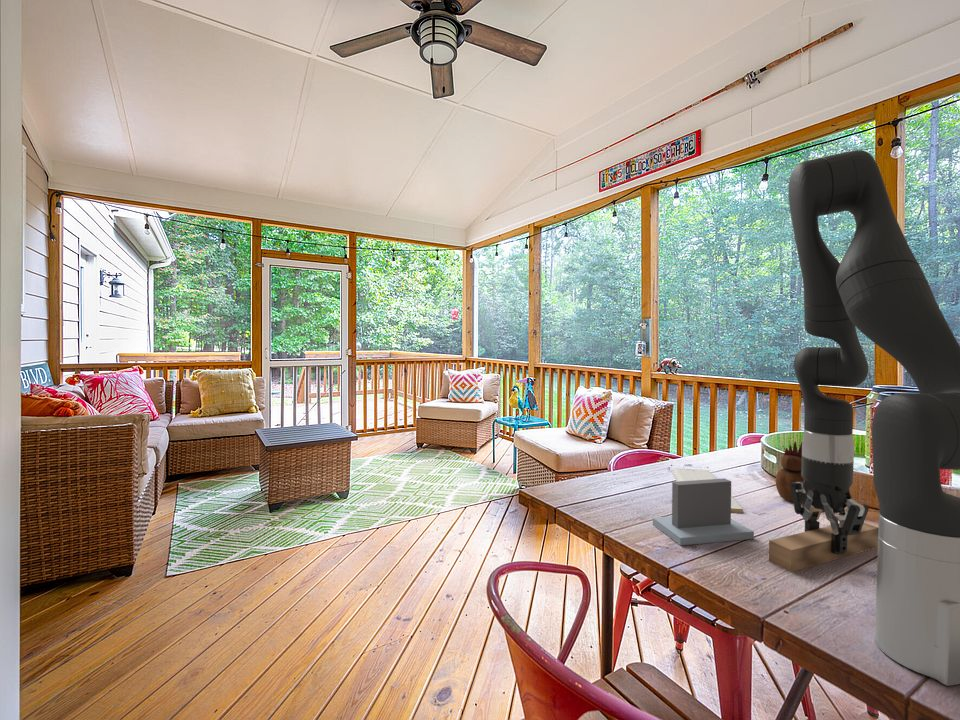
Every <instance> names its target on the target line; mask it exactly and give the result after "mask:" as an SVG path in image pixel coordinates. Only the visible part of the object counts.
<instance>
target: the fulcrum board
mask: <svg viewBox="0 0 960 720" xmlns="http://www.w3.org/2000/svg"><path fill="white" fill-rule="evenodd" d="M671 485H672V486H671V488H672V489H671V492H672V493H671V515H669V516H657V517H656V516H655V517H652V525H653V526H654V527H655V526H656V527H655V528H657V529H658V530H659V529H660V530H659V531H661V532H662V533H663V532H664V534H665V535H666V534H667V535H668V536H667V535H666V536H667V537H668V538H670V539H671V538H672V539H673V541H674V542H675V543H676V542H677V543H676V544H678V545H679V546H689V545H698V544H699V545H700V544H701V545H702V544H709V543H711V544H712V543H721V542H732V541H733V542H734V541H743V540H752V539H755V538H754V537H755V531H754V530H752V529H750V528H749V527H746V526H745V525H743V524H742V523H740V522H738V521H737V520H734V519H733V518H731V517H732V512H731V496H732V481H731V480H729V479H727V478H725V477H724V478H716V479H708V480H694V481H679V482H677V481H672V483H671ZM672 539H671V540H672Z"/></svg>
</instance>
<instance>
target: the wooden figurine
mask: <svg viewBox="0 0 960 720" xmlns="http://www.w3.org/2000/svg"><path fill="white" fill-rule="evenodd" d="M784 449H785V450H784V452H783V455H782V457H781V458H780V463H781V467H782V468H781V469H779V470H778V471H777V473H776V474H775V486H776V489H777V493H778V494H779V497H780V498H782V499H783V500H785V501H786V502H790V501H791V503H793V499H792V494H791V489H790V483H792V482H804V480H805V479H803V477H802V475H801V471H802V441H801V442H800V445H799V447H797V442H796V441H794V443H793V448H792V445H789V447H788V448H787V447H786V448H784ZM800 503H802V501H800Z"/></svg>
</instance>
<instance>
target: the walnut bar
mask: <svg viewBox="0 0 960 720" xmlns="http://www.w3.org/2000/svg"><path fill="white" fill-rule="evenodd" d="M838 524H839V527H841V526H840V522H838ZM878 528H879V526H875V525H872V524H868V523H866V522H864V523H863V526H862V529H861V532H860V534H857V535H848V536H847V551H846V552H845V553H844V554H839V555H836V554H834V553H832V552H831V533H833V532H832V528H831V525H828V526H822V527H819V528H818V529H814V530H810V531H806V532H805V531H803V532H798V533H795V534H790V535H785V536H781V537H778V538H773V539H769V541H768V562H769V563H771V564H774V565H775V566H778V567H780V568H782V569H784V570H786V571H788V572H790V573H793V572H795V571H798V570H800V571H801V570H802V569H806V568H811V567H813V566H817V565H821V564H824V563H827V562H831V561H835V560H838V559H841V558H845V557H848V556H852V554H853V555H856V554H859V553H858V552H860V553H862V552H861V551H863V552H866V551H865V550H867V551H869V550H868V549H870V550H873V549H872V548H874V549H877V548H878ZM876 547H877V548H876ZM855 553H856V554H855Z"/></svg>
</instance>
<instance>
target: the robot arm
mask: <svg viewBox="0 0 960 720" xmlns="http://www.w3.org/2000/svg"><path fill="white" fill-rule="evenodd" d="M787 188H788V192H787V193H788V205H789V213H790V217H791V223H792V228H793V229H792V231H793V235H794V240H795V246H796V251H797V256H798V261H799V266H800V272H801V278H802V285H803V287H802V288H803V309H804V310H803V312H804V313H803V315H804V317H803V318H804V329H805V331H806V333H807V334H808V335H810V336H814V337H818V338H824V339H828V340H831V341H834V342H835V343H836V344H838V345H837V347H836V346H835V347H834V346H832V347H831V346H824V347H823V346H808V347H804V348H802V349H800V350H799V351H798V352H797V353H796V355H794V356H795V357H794V360H793V369H794V374H795V378H796V379H797V382H798V385H799V388H800V391H801V395H802V401H803V407H804V414H803V415H804V418H803V419H804V420H803V421H804V422H803V428H804V429H803V434H802V435H803V436H802V441H801V442H802V471H801V475H802V477H803V479H805V480H804V482H792V483H790V489H791V494H792V499H793V502H792V503H793V509H794V512H795V513H796V514H797V515H800V516H802V519H803V520H804V532H806V531H810V530H814V529H818V528H820V524H821V523H820V521H818V520H820V517H821V514H822V512H824V513H825V517H826V520H827V521H829V524H830V526H831V528H832V532H833V533H831V552H832V553H834V554H836V555H839V554H844V553H845V552H846V551H847V536H848V535H857V534H860V532H861V529H862V526H863V523H865V521H866V517H867V515H868V512H869V506H868V505H867V504H865V503H861V504H860V503H858V502H857V501H856V500H854V499H853V495H852V494H851V490H850V488H851V486H852V485H853V483H854V465H855V464H854V458H855V457H854V456H855V445H854V438H853V437H854V436H853V435H854V434H853V433H854V432H853V430H854V427H853V426H854V424H853V423H854V407H853V405H852V403H850V402H849V401H847V400H843V399H840V398H835V397H831V396H829V395H826V394H824V393H823V392H821V390H820V388H819V386H825V387H826V386H827V387H844V388H845V387H846V388H847V387H848V388H854V387H857V386H858V387H859V386H860V385H861V384H862V383H864V382H865V380H866V379H867V377H868V376H869V375H868V374H869V363H868V360H867V357H866V355H865V352H864V350H863V348H862V344H861V342H860V340H859V336H858V333H857V332H858V331H857V329H858V330H859V331H860V332H861V333H862V334H863V335H864V336H865V337H867V338H868V339H869V340H871V341H872V343H874V344H875V345H876V346H878V347H879V348H881V349H882V350H883V351H885V352H886V353H887V354H888V355H890V356H891V357H892V358H893V359H895V360H896V361H897V362H898V363H899V365H901V366H902V367H903V368H904V369H905V370H906V371H907V373H908V375H909V376H910V377H911V379H912V380H913V381H912V382H914V385H915V386H916V388H917V390H918V392H913V393H912V392H909V393H908V392H907V393H906V392H905V393H904V392H903V393H896V394H895V393H894V394H890V395H888V396H886V397H884V398H883V399H882V400H880V402H879V403H878V404H877V406H876V408H875V410H874V413H873V417H872V425H871V426H872V427H871V443H872V445H871V446H872V447H871V448H872V468H873V469H872V471H873V476H872V477H873V485H874V490H875V493H876V497H877V499H878V547H877V561H876V562H877V563H876V565H877V566H876V593H875V594H876V595H875V599H876V600H875V601H876V602H875V629H874V631H875V633H874V635H875V636H874V639H875V641H874V642H875V643H876V645H877V647H878V648H879V649H880V650H881V651H882V652H883V653H884V654H885V655H886V656H888V657H889V658H890V659H891V660H893V661H895V662H896V663H898V664H900V665H902V666H904V667H905V668H907V669H910V670H911V671H914V672H916V673H918V674H921V675H923V676H927V677H929V678H932V679H934V680H937V681H938V682H940V683H941V684H943V685H945V686H947V687H948V686H949V687H950V686H955V685H956V686H957V685H960V496H959V497H958V496H956V495H953V494H950V493H948V492H947V493H946V492H945V491H944V490H943V487H942V483H941V472H940V471H941V470H957V471H958V470H960V344H959V342H958V340H957V338H956V336H955V335H954V334H955V333H953V330H952V328H951V327H950V325H949V324H948V322H947V320H946V318H945V316H944V314H943V312H942V311H941V309H940V307H939V304H938V303H937V301H936V298H935V295H934V293H933V291H932V288H931V286H930V283H929V281H928V280H927V277H926V276H925V275H926V274H925V273H924V271H923V269H922V267H921V265H920V263H919V261H918V260H917V259H916V256H915V255H914V253H913V251H912V249H911V247H910V245H909V243H908V241H907V240H906V237H905V235H904V233H903V231H902V228H901V227H900V224H899V222H898V220H897V218H896V215H895V213H894V210H893V207H892V204H891V200H890V197H889V194H888V191H887V188H886V185H885V182H884V179H883V176H882V173H881V170H880V167H879V165H878V163H877V161H876V160H875V158H874V156H873V155H872V154H871V153H869V152H868V151H867V150H861V149H860V150H857V149H856V150H849V151H845V152H840V153H836V154H835V153H834V154H831V155H827V156H822V157H818V158H813V159H809V160H804V161H802V162H800V163H798V164H797V165H795V166H794V168H793V170H792V171H791V173H790V176H789V181H788V187H787ZM843 212H849V213H851V214H852V215H853V218H854V221H855V226H856V228H855V232H854V234H853V238H852V239H851V242H850V244H849V245H848V247H847V250H846V251H845V253H844V255H843V256H842V259H841V261H839V260H838V259H837V258H836V257H835V256H834V254H833V253H832V251H831V250H830V249H829V248H828V246H827V245H826V244H825V242H824V240H823V238H822V235H821V230H820V226H819V219H818V218H819V217H820V216H826V215H832V214H837V213H843ZM800 501H802V502H800ZM835 514H836V515H835ZM839 523H840V526H841V527H839Z"/></svg>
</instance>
